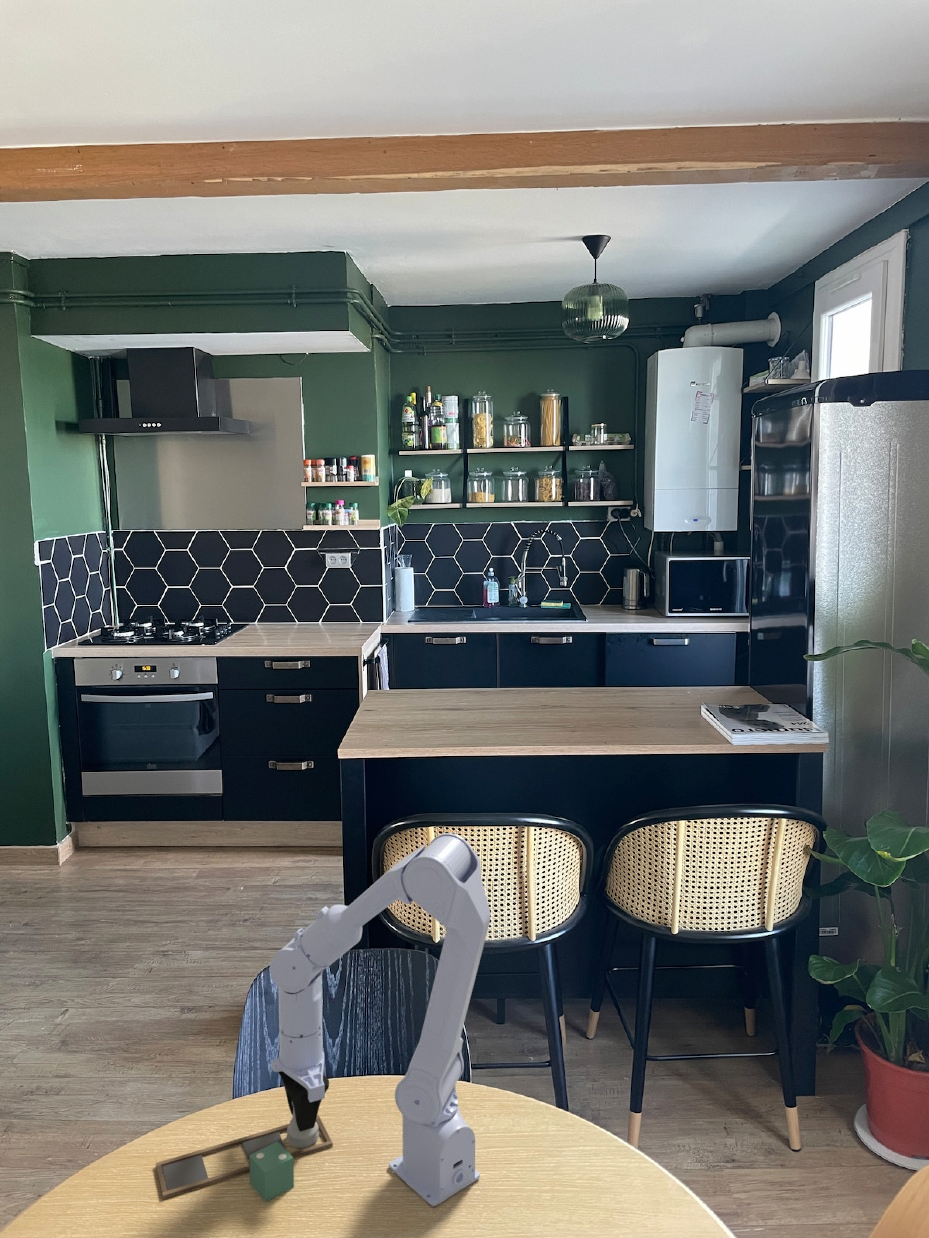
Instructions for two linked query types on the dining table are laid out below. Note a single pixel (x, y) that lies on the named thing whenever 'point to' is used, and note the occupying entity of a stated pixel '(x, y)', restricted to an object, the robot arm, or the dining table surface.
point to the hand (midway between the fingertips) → (302, 1119)
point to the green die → (271, 1171)
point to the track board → (190, 1167)
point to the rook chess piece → (301, 1134)
